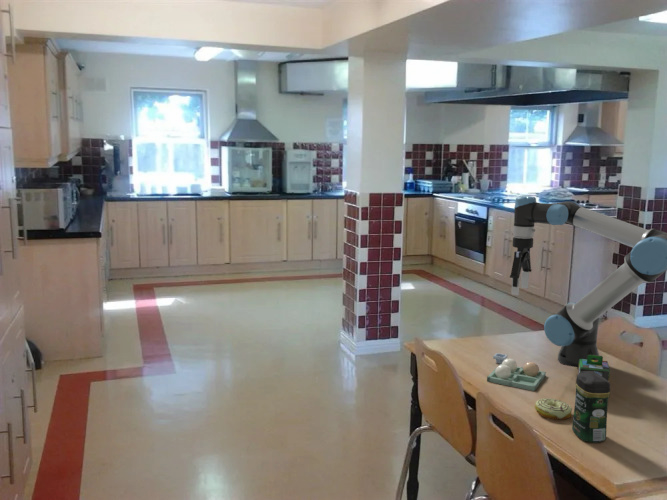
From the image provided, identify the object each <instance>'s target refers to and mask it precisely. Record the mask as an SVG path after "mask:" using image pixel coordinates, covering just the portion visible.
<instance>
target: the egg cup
mask: <svg viewBox="0 0 667 500" xmlns="http://www.w3.org/2000/svg"><path fill="white" fill-rule="evenodd" d="M492 357H493V358H492V359H495V363H497V364H502V362H503V361H504V360H505V359H508V354H504V353H501V352H500V353H499V352H496V353H495V354H494V355H493V356H492Z"/></svg>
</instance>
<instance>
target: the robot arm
mask: <svg viewBox="0 0 667 500" xmlns="http://www.w3.org/2000/svg"><path fill="white" fill-rule="evenodd" d="M513 209H514V213H513V214H514V219H513V227H512V228H513V229H512V235H513V237H512V247H513V248H516V251H514V254H513V261H512V267H511V273H510V275H509V278H511V290H510V291H511V293H510V294H511V295H512V296H520V289H529V283H530V282H529V279H530V273H532V270H533V269H532V264H531V249H533V248H534V238H533V237H534V235H535V234H534V233H535V232H536V229H535V223H536V224H544V225H545V224H546V225H552V226H563V225H565V223H566V224H569V225H572V226H574V227H577V228H580V229H583V230H585V231H587V232H590V233H593V234H595V235H599V236H601V237H604V238H607V239H609V240H612V241H615V242H617V243H619V244H623V245H625V246H628V247H630V248H632V249H631V251H630V252H629V253H627V254H626V255H625V256H624V258H623V259H624V261H623V262H624V263H623V264H621V265H620V266H619V267H618V268H616V269H615V270H614V271H613V272H612V273H611V274H609V275H608V276H606V278H604V279H603V280H602V281H601V282H600V283H598V284H597V285H596V286H595V287H594V288H592V289H591V290H590V291H589V292H588V293H586V294H585V295H584V296H583V297H581V298H580V299H579V300H578V301H577V302H573V301H572V302H570V301H569V302H568V303H567V304H566V305H565V306H564V307H562V308H561V309H560V310H559V311H558V312H556V313H554V314H552V315H550V316H548V317H547V318H546V320H545V322H544V325H543V327H544V330H543V331H544V334H545V336H546V338H547V340H548V341H550V342H551V343H552V344H553V345H555V346H559V347H560V349H559V351H558V354H557V361H558V362H559V363H560V364H562V365H564V366H568V367H573V368H577V369H579V359H587V357H588V355H598V356H600V353H599V350H598V347H597V346H598V345H597V343H598V342H597V340H598V331H599V322H600V321H599V319H600V317H601V316H602V315H604V314H605V313H606V312H607V311H609V310H610V309H611V308H612V307H614V306H616V304H618V303H619V302H620V301H622V299H624V298H625V297H627V296H628V295H629V294H631V293H632V292H633V291H634V290H635V289H637V288H638V287H640V286H641V285H642V284H643V283H648V284H650V283H653V282H654V281H656V279H657V278H660V276H662V275H663V274H664V273H665V272H667V232H665V231H661V230H658V229H655V228H650V229H647V228H643V227H641V226H639V225H635V224H632V223H630V222H627V221H624V220H621V219H618V218H615V217H612V216H609V215H606V214H603V213H601V212H598V211H595V210H592V209H589V208H586V207H583V206H581V205H579V204H578V202H576V201H570V200H566V201H561V202H554V203H553V202H552V203H546V202H545V203H542V202H538V201H537V198H536V197H535V196H530V195H529V196H526V195H523V196H519V195H518V196H516V198H515V201H514V208H513ZM520 274H521V275H520ZM520 276H521V277H520ZM591 360H598V359H597V358H592V359H591Z"/></svg>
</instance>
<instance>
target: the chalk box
mask: <svg viewBox="0 0 667 500" xmlns="http://www.w3.org/2000/svg"><path fill="white" fill-rule="evenodd" d="M592 358H597V359H598V360H591V359H592ZM603 358H604V357H603V355H599V356H598V355H588V357H587V359H579V368H578V370H577V371H578V373H577V375H578V374H579V373H580V372H581V371H594V372H595V373H597V374H599V375H601V376H602V377H603V378H605V379H606V380H607V381H609V382H610V375H611V372H610V371H611V370H610V366H609V362H608V360H604V359H603Z"/></svg>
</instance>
